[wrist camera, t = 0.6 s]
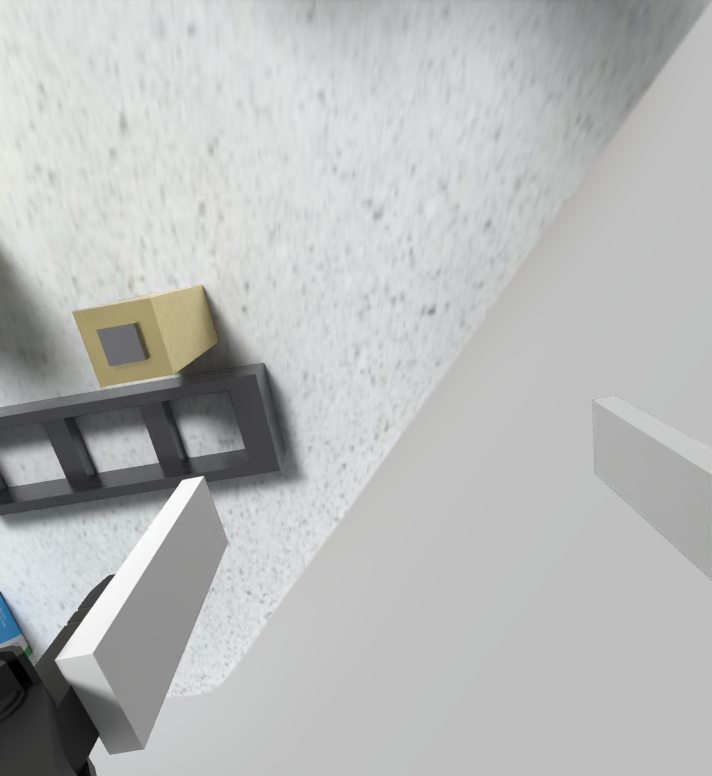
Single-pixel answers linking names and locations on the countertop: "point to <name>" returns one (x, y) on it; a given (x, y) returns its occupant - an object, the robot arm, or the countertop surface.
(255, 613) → the countertop surface
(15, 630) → the milk carton
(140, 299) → the block
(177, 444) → the rack rail
